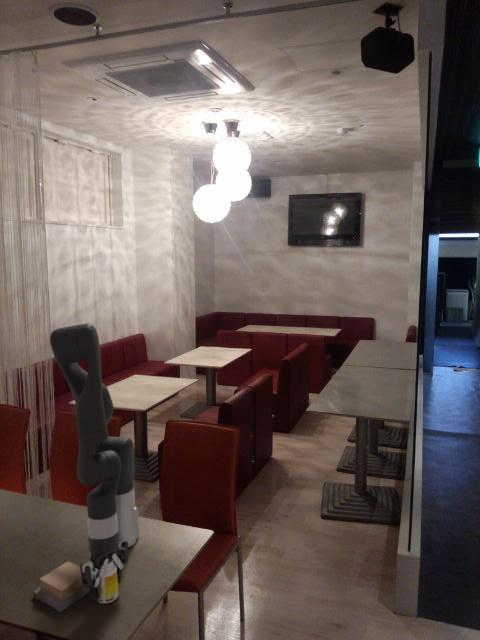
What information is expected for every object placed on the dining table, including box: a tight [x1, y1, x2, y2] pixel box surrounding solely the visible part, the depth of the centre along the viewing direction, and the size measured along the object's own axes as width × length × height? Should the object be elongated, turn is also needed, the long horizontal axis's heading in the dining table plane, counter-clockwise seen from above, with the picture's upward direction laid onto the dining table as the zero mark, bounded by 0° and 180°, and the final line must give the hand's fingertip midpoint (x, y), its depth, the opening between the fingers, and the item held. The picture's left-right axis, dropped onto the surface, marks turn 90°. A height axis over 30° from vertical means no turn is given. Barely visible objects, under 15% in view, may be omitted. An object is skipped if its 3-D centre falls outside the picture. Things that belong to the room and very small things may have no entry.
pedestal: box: [32, 560, 95, 613], centre depth 134 cm, size 12×11×4 cm
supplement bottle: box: [94, 560, 119, 604], centre depth 131 cm, size 6×6×10 cm
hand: (107, 589), depth 131 cm, fingers open, 7 cm apart
